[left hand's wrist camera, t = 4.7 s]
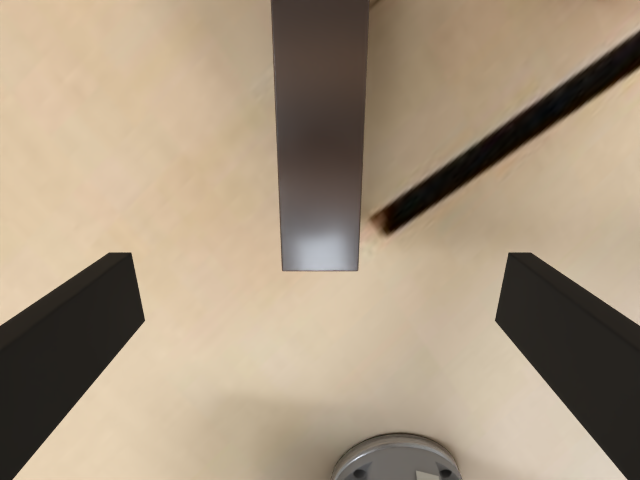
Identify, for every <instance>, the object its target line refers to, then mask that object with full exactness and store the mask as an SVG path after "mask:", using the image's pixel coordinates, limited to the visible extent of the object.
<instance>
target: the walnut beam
mask: <svg viewBox="0 0 640 480" xmlns="http://www.w3.org/2000/svg"><path fill="white" fill-rule="evenodd" d="M271 14H272V39H273V63H274V87H275V112H276V136H277V160H278V184H279V209H280V233H281V257H282V271H358V263H359V239H360V215H361V191H362V167H363V143H364V119H365V95H366V71H367V47H368V23H369V0H271Z"/></svg>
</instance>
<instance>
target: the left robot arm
mask: <svg viewBox="0 0 640 480" xmlns="http://www.w3.org/2000/svg"><path fill="white" fill-rule="evenodd" d="M144 321H145V318H144V313H143V308H142V303H141V298H140V293H139V288H138V283H137V278H136V273H135V269H134V264H133V259H132V254H131V253H108V254H106V255H105V256H103V257H102V258H101V259H99V260H98V261H96V262H95V263H93V264H92V265H90V266H89V267H87V268H86V269H84V270H83V271H81V272H80V273H78V274H77V275H75V276H74V277H72V278H71V279H69V280H68V281H66V282H65V283H63V284H62V285H60V286H59V287H57V288H56V289H54V290H53V291H51V292H50V293H49V294H47V295H46V296H44V297H43V298H41V299H40V300H38V301H37V302H35V303H34V304H32V305H31V306H29V307H28V308H26V309H25V310H23V311H22V312H20V313H19V314H17V315H16V316H14V317H13V318H11V319H10V320H8V321H7V322H5V323H4V324H2V325H1V326H0V480H13V478H14V477H15V476H16V475H17V474H18V472H19V471H20V470H21V469H22V468H23V466H24V465H25V464H26V463H27V462H28V460H29V459H30V458H31V457H32V456H33V454H34V453H35V452H36V451H37V450H38V448H39V447H40V446H41V445H42V444H43V442H44V441H45V440H46V439H47V438H48V436H49V435H50V434H51V433H52V432H53V430H54V429H55V428H56V427H57V426H58V424H59V423H60V422H61V421H62V420H63V418H64V417H65V416H66V415H67V414H68V412H69V411H70V410H71V409H72V408H73V406H74V405H75V404H76V403H77V402H78V400H79V399H80V398H81V397H82V396H83V394H84V393H85V392H86V391H87V390H88V388H89V387H90V386H91V385H92V384H93V382H94V381H95V380H96V379H97V378H98V376H99V375H100V374H101V373H102V372H103V370H104V369H105V368H106V367H107V366H108V364H109V363H110V362H111V361H112V360H113V358H114V357H115V356H116V355H117V354H118V352H119V351H120V350H121V349H122V348H123V346H124V345H125V344H126V343H127V342H128V340H129V339H130V338H131V337H132V336H133V334H134V333H135V332H136V331H137V330H138V328H139V327H140V326H141V325H142V324H143V322H144ZM495 321H496V322H497V324H498V325H499V326H500V327H501V328H502V330H503V331H504V332H505V333H506V334H507V336H508V337H509V338H510V339H511V340H512V342H513V343H514V344H515V345H516V346H517V348H518V349H519V350H520V351H521V352H522V354H523V355H524V356H525V357H526V358H527V360H528V361H529V362H530V363H531V364H532V366H533V367H534V368H535V369H536V370H537V372H538V373H539V374H540V375H541V376H542V378H543V379H544V380H545V381H546V382H547V384H548V385H549V386H550V387H551V388H552V390H553V391H554V392H555V393H556V394H557V396H558V397H559V398H560V399H561V400H562V402H563V403H564V404H565V405H566V406H567V408H568V409H569V410H570V411H571V412H572V414H573V415H574V416H575V417H576V418H577V420H578V421H579V422H580V423H581V424H582V426H583V427H584V428H585V429H586V430H587V432H588V433H589V434H590V435H591V436H592V438H593V439H594V440H595V441H596V442H597V444H598V445H599V446H600V447H601V448H602V450H603V451H604V452H605V453H606V454H607V456H608V457H609V458H610V459H611V460H612V462H613V463H614V464H615V465H616V466H617V468H618V469H619V470H620V471H621V472H622V474H623V475H624V476H625V477H626V478H627V480H640V326H639V325H638V324H636V323H635V322H633V321H632V320H630V319H629V318H627V317H626V316H624V315H623V314H621V313H620V312H618V311H617V310H615V309H614V308H612V307H611V306H609V305H608V304H606V303H605V302H603V301H602V300H600V299H599V298H597V297H596V296H594V295H593V294H591V293H590V292H589V291H587V290H586V289H584V288H583V287H581V286H580V285H578V284H577V283H575V282H574V281H572V280H571V279H569V278H568V277H566V276H565V275H563V274H562V273H560V272H559V271H557V270H556V269H554V268H553V267H551V266H550V265H548V264H547V263H545V262H544V261H542V260H541V259H539V258H538V257H536V256H535V255H534V254H532V253H509V254H508V259H507V264H506V269H505V273H504V278H503V283H502V288H501V293H500V298H499V303H498V308H497V313H496V318H495ZM332 480H462V477H461V475H460V472H459V469H458V467H457V464H456V462H455V460H454V458H453V457H452V455H451V454H450V453H449V452H448V451H447V450H446V449H445V448H444V447H442V446H441V445H439V444H438V443H436V442H434V441H432V440H429V439H427V438H424V437H420V436H415V435H408V434H391V435H384V436H379V437H375V438H372V439H369V440H366V441H364V442H362V443H360V444H358V445H356V446H354V447H353V448H351V449H350V450H349V451H348V452H346V453H345V454H344V455H343V456H342V457H341V459H340V460H339V461H338V463H337V464H336V466H335V468H334V471H333V474H332Z"/></svg>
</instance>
